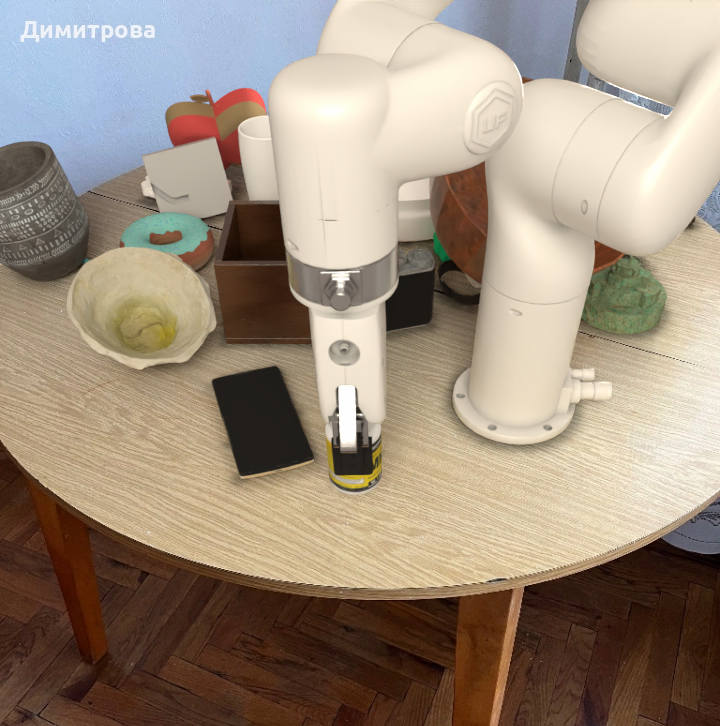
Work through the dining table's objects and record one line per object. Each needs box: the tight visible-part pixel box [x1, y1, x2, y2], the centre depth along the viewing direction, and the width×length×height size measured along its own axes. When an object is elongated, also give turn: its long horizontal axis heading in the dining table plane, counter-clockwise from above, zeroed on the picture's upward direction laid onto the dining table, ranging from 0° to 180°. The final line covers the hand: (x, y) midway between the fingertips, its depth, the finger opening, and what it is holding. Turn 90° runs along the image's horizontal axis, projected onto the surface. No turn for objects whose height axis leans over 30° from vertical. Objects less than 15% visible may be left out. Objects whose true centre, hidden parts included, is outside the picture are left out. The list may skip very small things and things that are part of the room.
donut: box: [118, 212, 216, 272], centre depth 99 cm, size 12×12×4 cm
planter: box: [0, 140, 90, 282], centre depth 94 cm, size 12×12×13 cm
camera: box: [385, 248, 437, 333], centre depth 88 cm, size 15×7×10 cm, turn 106°
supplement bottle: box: [324, 405, 383, 496], centre depth 66 cm, size 5×5×8 cm
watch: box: [437, 260, 481, 306], centre depth 93 cm, size 8×5×4 cm, turn 31°
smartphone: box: [211, 365, 315, 480], centre depth 79 cm, size 7×1×15 cm
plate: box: [398, 178, 435, 243], centre depth 110 cm, size 27×27×6 cm
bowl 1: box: [65, 247, 218, 371], centre depth 84 cm, size 15×14×10 cm
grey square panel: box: [141, 137, 234, 219], centre depth 106 cm, size 12×11×4 cm
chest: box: [213, 200, 312, 345], centre depth 89 cm, size 12×14×10 cm
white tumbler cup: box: [238, 114, 279, 201], centre depth 98 cm, size 7×7×15 cm
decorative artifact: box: [581, 255, 668, 335], centre depth 90 cm, size 10×7×10 cm
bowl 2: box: [429, 76, 626, 284], centre depth 89 cm, size 25×25×11 cm
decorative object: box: [164, 87, 268, 170], centre depth 108 cm, size 14×4×15 cm
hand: (354, 446), depth 66 cm, fingers closed on supplement bottle, 4 cm apart
